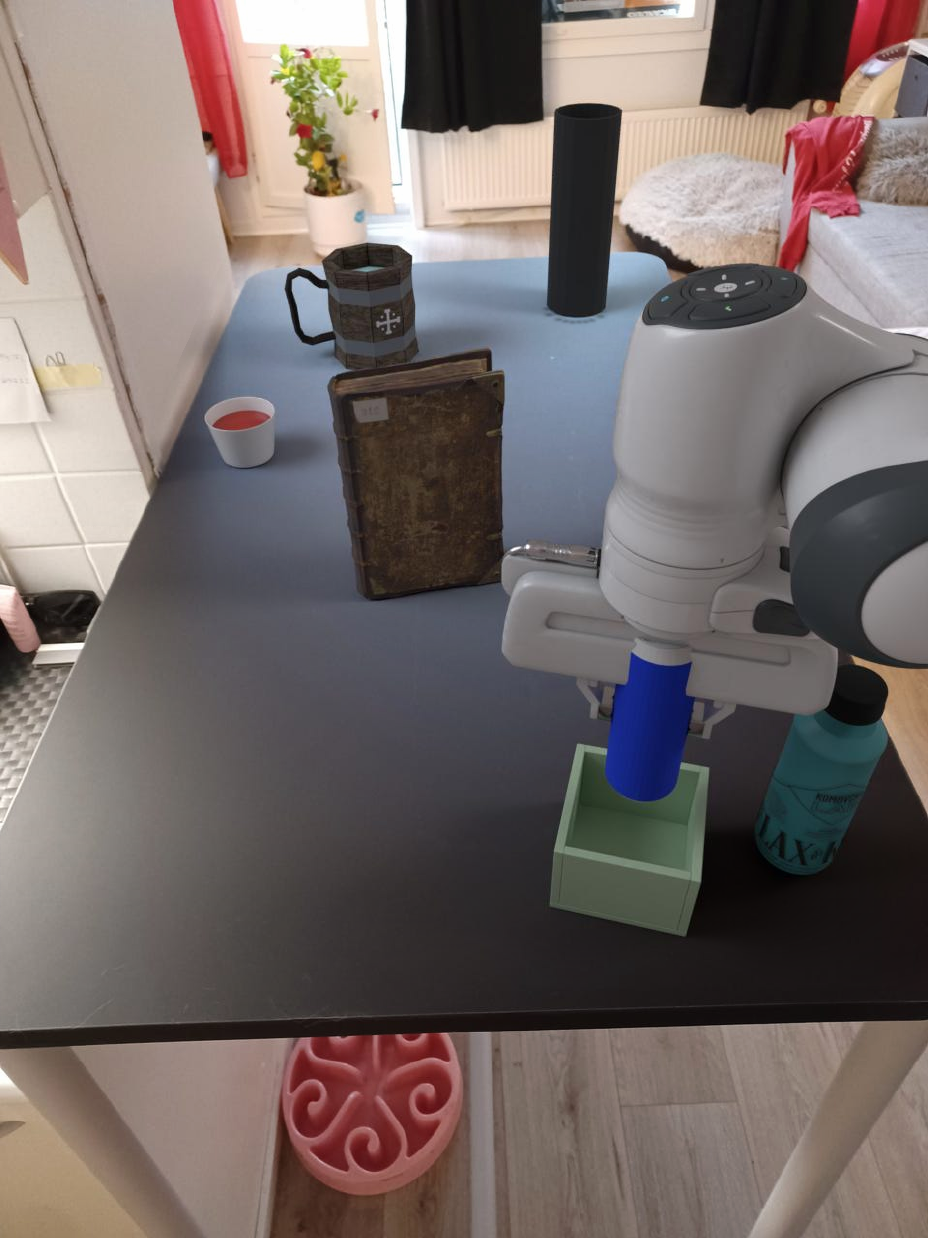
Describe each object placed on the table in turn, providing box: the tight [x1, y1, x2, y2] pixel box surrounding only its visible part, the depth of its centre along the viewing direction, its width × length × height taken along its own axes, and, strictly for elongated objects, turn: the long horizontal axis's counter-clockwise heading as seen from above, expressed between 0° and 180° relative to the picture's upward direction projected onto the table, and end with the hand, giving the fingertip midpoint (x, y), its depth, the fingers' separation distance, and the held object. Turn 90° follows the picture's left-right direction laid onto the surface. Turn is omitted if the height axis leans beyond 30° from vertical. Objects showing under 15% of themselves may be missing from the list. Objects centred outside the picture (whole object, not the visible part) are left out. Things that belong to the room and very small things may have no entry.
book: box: [326, 346, 506, 600], centre depth 91 cm, size 17×7×25 cm, turn 99°
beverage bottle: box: [752, 663, 889, 876], centre depth 65 cm, size 6×7×20 cm
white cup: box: [204, 396, 276, 469], centre depth 118 cm, size 9×9×6 cm
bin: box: [549, 743, 710, 938], centre depth 69 cm, size 10×10×8 cm
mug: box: [284, 242, 420, 371], centre depth 137 cm, size 20×14×15 cm
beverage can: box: [605, 638, 696, 802], centre depth 59 cm, size 5×5×15 cm
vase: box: [546, 102, 623, 318], centre depth 144 cm, size 10×10×30 cm
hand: (650, 722), depth 60 cm, fingers closed on beverage can, 5 cm apart
